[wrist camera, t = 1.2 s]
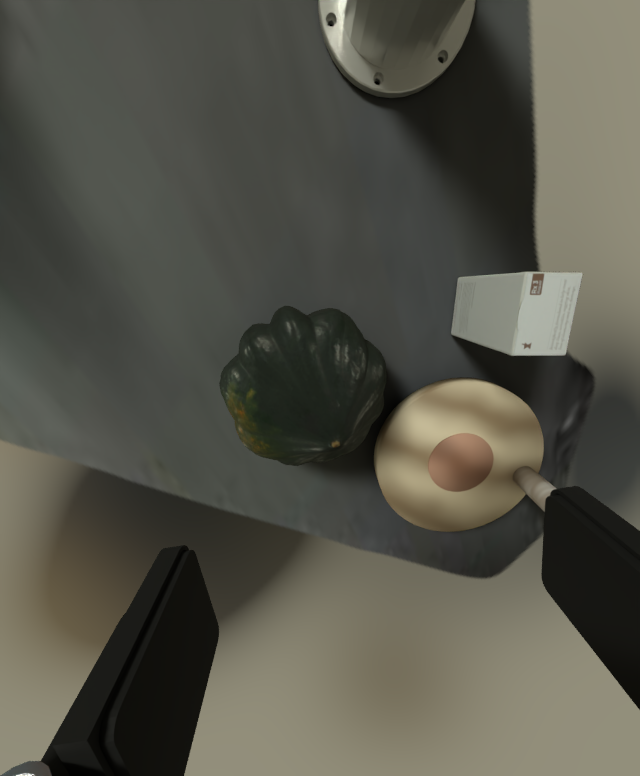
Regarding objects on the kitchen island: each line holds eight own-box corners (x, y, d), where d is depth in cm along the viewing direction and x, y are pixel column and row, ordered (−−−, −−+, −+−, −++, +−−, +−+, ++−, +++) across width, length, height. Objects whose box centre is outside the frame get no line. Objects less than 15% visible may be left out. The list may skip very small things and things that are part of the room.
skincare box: (488, 335, 37) (571, 360, 25) (447, 335, 36) (511, 360, 25) (497, 274, 35) (591, 271, 23) (454, 274, 35) (527, 271, 23)
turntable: (401, 360, 35) (427, 383, 27) (558, 397, 37) (623, 427, 29) (355, 505, 40) (366, 558, 33) (495, 531, 42) (536, 587, 34)
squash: (190, 302, 29) (198, 466, 22) (357, 253, 29) (426, 402, 21) (246, 384, 42) (264, 508, 34) (364, 350, 41) (409, 467, 34)
